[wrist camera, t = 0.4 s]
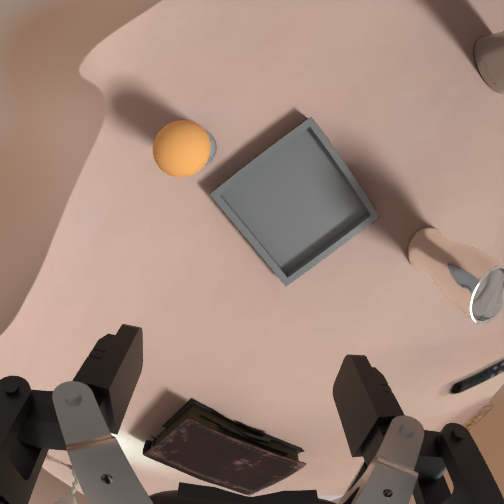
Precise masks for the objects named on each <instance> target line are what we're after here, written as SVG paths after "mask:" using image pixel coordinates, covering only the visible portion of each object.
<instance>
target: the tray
mask: <svg viewBox="0 0 504 504" xmlns="http://www.w3.org/2000/svg"><path fill="white" fill-rule="evenodd" d="M210 196H211V197H212V198H213V199H214V201H215V202H216V203H217V204H218V205H219V207H220V208H221V209H222V210H223V211H224V213H225V214H226V215H227V216H228V217H229V219H230V220H231V221H232V222H233V223H234V225H235V226H236V227H237V228H238V229H239V231H240V232H241V233H242V234H243V235H244V237H245V238H246V239H247V240H248V241H249V243H250V244H251V245H252V246H253V247H254V249H255V250H256V251H257V252H258V253H259V255H260V256H261V257H262V258H263V259H264V261H265V262H266V263H267V264H268V265H269V267H270V268H271V269H272V270H273V271H274V273H275V274H276V275H277V276H278V277H279V279H280V280H281V281H282V282H283V283H284V285H285V286H287V285H289V284H290V283H292V282H293V281H294V280H296V279H297V278H299V277H300V276H301V275H303V274H304V273H305V272H307V271H308V270H310V269H311V268H312V267H314V266H315V265H316V264H318V263H319V262H321V261H322V260H323V259H325V258H326V257H327V256H329V255H330V254H331V253H333V252H334V251H335V250H337V249H338V248H339V247H341V246H342V245H343V244H345V243H346V242H347V241H349V240H350V239H351V238H353V237H354V236H355V235H357V234H358V233H359V232H360V231H362V230H363V229H364V228H366V227H367V226H368V225H370V224H371V223H372V222H373V221H375V220H376V219H377V218H379V215H378V213H377V212H376V210H375V208H374V207H373V205H372V204H371V202H370V200H369V199H368V197H367V196H366V194H365V193H364V191H363V189H362V188H361V186H360V185H359V183H358V182H357V180H356V179H355V177H354V176H353V174H352V173H351V171H350V170H349V168H348V167H347V165H346V164H345V162H344V161H343V159H342V158H341V157H340V155H339V154H338V152H337V151H336V149H335V148H334V147H333V145H332V144H331V142H330V141H329V140H328V138H327V137H326V136H325V134H324V133H323V132H322V130H321V129H320V128H319V126H318V125H317V124H316V122H315V121H314V120H313V118H312V117H310V118H308V119H307V120H305V121H304V122H302V123H301V124H300V125H298V126H297V127H295V128H294V129H293V130H291V131H290V132H289V133H287V134H286V135H284V136H283V137H282V138H280V139H279V140H278V141H276V142H275V143H274V144H272V145H271V146H270V147H268V148H267V149H266V150H264V151H263V152H262V153H260V154H259V155H258V156H257V157H255V158H254V159H253V160H251V161H250V162H249V163H247V164H246V165H245V166H244V167H242V168H241V169H240V170H239V171H237V172H236V173H235V174H233V175H232V176H231V177H230V178H228V179H227V180H226V181H225V182H223V183H222V184H221V185H220V186H219V187H217V188H216V189H215V190H214V191H212V192H211V193H210Z"/></svg>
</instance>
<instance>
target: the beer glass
mask: <svg viewBox="0 0 504 504" xmlns="http://www.w3.org/2000/svg"><path fill="white" fill-rule="evenodd" d="M408 258H409V261H410V263H411V264H412V266H413V267H415V268H416V269H418V270H420V271H423V272H425V273H427V274H428V275H429V276H430V277H431V279H432V280H433V281H434V283H435V284H436V286H437V287H438V288H439V290H440V291H441V293H442V294H443V295H444V296H445V298H446V299H447V300H448V301H449V302H450V303H451V304H452V305H454V306H455V307H456V308H457V309H458V310H460V311H461V312H462V313H464V314H465V315H466V316H468V317H469V318H471V319H472V320H473V321H474V322H475V323H478V324H484V323H487V322H490V321H491V320H493V319H494V318H495V317H496V316H497V315H498V314H499V313H500V312H501V311H502V310H503V308H504V265H503V264H502V263H500V262H499V261H498V260H496V259H495V258H494V257H492V256H491V255H489V254H488V253H486V252H484V251H483V250H481V249H478V248H476V247H474V246H471V245H468V244H464V243H460V242H456V241H452V240H449V239H447V238H445V237H444V236H443V235H442V234H441V233H440V232H439V231H438V230H436V229H434V228H430V227H427V228H423V229H421V230H419V231H418V232H417V233H416V234H415V235H414V236H413V237H412V239H411V241H410V243H409V247H408Z"/></svg>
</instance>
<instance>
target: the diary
mask: <svg viewBox="0 0 504 504" xmlns="http://www.w3.org/2000/svg"><path fill="white" fill-rule="evenodd" d="M235 421H236V420H235ZM236 422H237V423H236ZM236 422H234V421H232V420H229V419H227V418H225V417H224V416H222V415H221V414H219V413H218V412H216V411H215V410H213V409H211V408H209V407H207V406H206V405H204V404H202V403H200V402H198V401H196V400H195V399H193V398H191V399H190V400H189V401H188V402H187V403H186V404H185V405H184V406H183V407H182V408H181V409H180V410H179V411H178V412H177V413H176V414H175V415H174V416H173V417H172V418H170V419H169V420H168V421H167V422H166V423H165V424H164V425H163V427H165V428H166V429H165V430H164V431H163V432H162V433H161V434H160V435H158V437H157V438H155V437H153V436H151V437H153V438H155V439H154V441H153V442H151V441H149V440H146V442H145V445H144V448H143V455H144V456H146V457H148V458H151V459H153V460H155V461H158V462H160V463H162V464H165V465H167V466H170V467H172V468H175V469H177V470H179V471H181V472H184V473H186V474H188V475H191V476H193V477H195V478H198V479H200V480H203V481H206V482H209V483H212V484H216V485H219V486H222V487H225V488H228V489H231V490H234V491H237V492H240V493H243V494H246V495H252V494H254V493H255V492H258V491H260V490H262V489H264V488H266V487H269V486H271V485H273V484H275V483H277V482H279V481H281V480H283V479H285V478H287V477H288V476H290V475H292V474H293V473H295V472H296V471H298V470H300V469H301V468H303V467H304V466H305V465H306V463H304V462H300V461H299V460H298V453H300V452H304V450H303V449H301V448H300V447H297V446H295V445H292V444H290V443H288V442H285V441H283V440H280V439H278V438H275V437H273V436H270V435H268V434H265V433H263V432H260V431H258V430H255V429H253V428H251V427H249V426H247V425H245V424H243V423H241V422H238V421H236ZM238 423H239V424H238Z"/></svg>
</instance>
